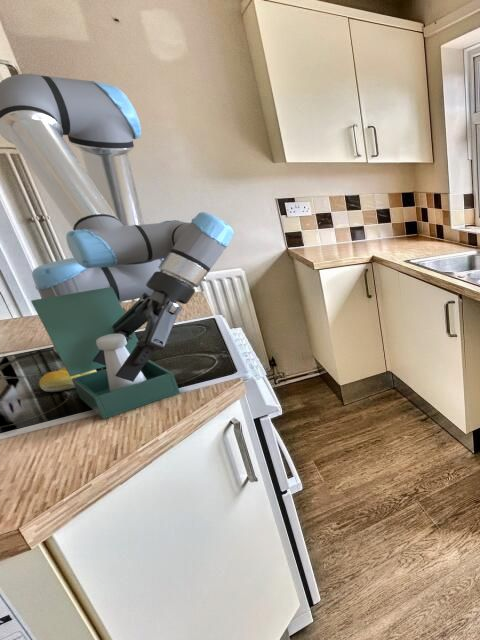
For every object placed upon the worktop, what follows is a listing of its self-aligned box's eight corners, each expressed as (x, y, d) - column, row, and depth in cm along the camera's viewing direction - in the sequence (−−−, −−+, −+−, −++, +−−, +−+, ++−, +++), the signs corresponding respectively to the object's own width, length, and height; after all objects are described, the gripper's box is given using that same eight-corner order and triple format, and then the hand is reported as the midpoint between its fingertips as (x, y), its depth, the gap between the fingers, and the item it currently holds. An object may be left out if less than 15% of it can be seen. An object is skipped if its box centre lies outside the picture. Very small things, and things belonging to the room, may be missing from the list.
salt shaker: (120, 405, 82) (94, 343, 77) (109, 398, 85) (83, 338, 80) (156, 392, 87) (133, 333, 82) (144, 386, 89) (122, 328, 85)
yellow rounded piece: (32, 392, 90) (23, 375, 88) (79, 374, 98) (72, 358, 96) (63, 394, 88) (55, 377, 87) (108, 376, 96) (101, 360, 95)
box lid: (112, 286, 91) (111, 287, 91) (31, 300, 82) (30, 301, 82) (145, 355, 94) (144, 356, 94) (70, 376, 84) (70, 376, 85)
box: (180, 392, 88) (172, 372, 86) (103, 419, 78) (94, 397, 77) (152, 376, 96) (145, 357, 94) (80, 398, 86) (71, 378, 85)
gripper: (222, 296, 85) (157, 392, 79) (172, 283, 98) (113, 365, 92) (183, 275, 79) (110, 378, 73) (135, 264, 92) (70, 350, 86)
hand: (111, 371), depth 82 cm, fingers open, 13 cm apart
